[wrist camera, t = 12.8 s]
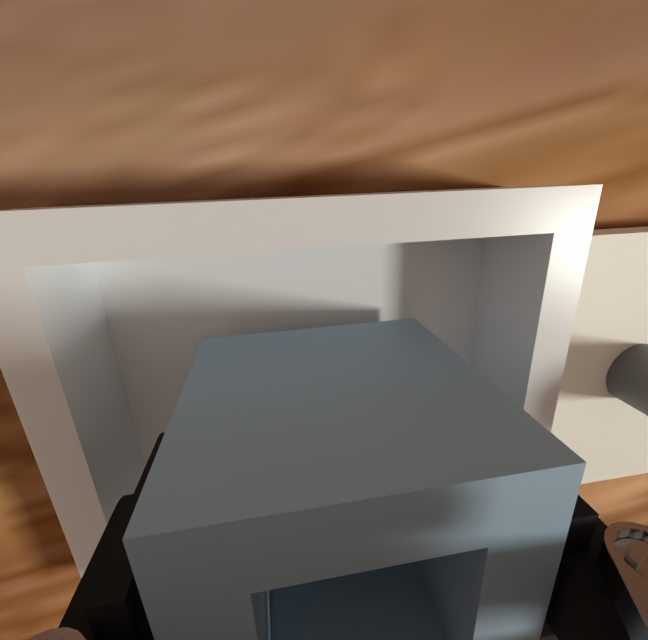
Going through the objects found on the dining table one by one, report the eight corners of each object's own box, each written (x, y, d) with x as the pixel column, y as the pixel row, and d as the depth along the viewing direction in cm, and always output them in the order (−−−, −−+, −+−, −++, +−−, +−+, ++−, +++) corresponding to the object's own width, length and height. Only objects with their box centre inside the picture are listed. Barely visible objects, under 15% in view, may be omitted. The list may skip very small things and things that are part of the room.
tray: (465, 505, 16) (518, 587, 12) (151, 558, 14) (117, 670, 11) (504, 186, 11) (602, 184, 8) (51, 206, 9) (-59, 213, 6)
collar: (414, 317, 11) (585, 462, 5) (405, 505, 13) (512, 741, 7) (202, 338, 10) (122, 539, 4) (235, 534, 12) (214, 824, 7)
